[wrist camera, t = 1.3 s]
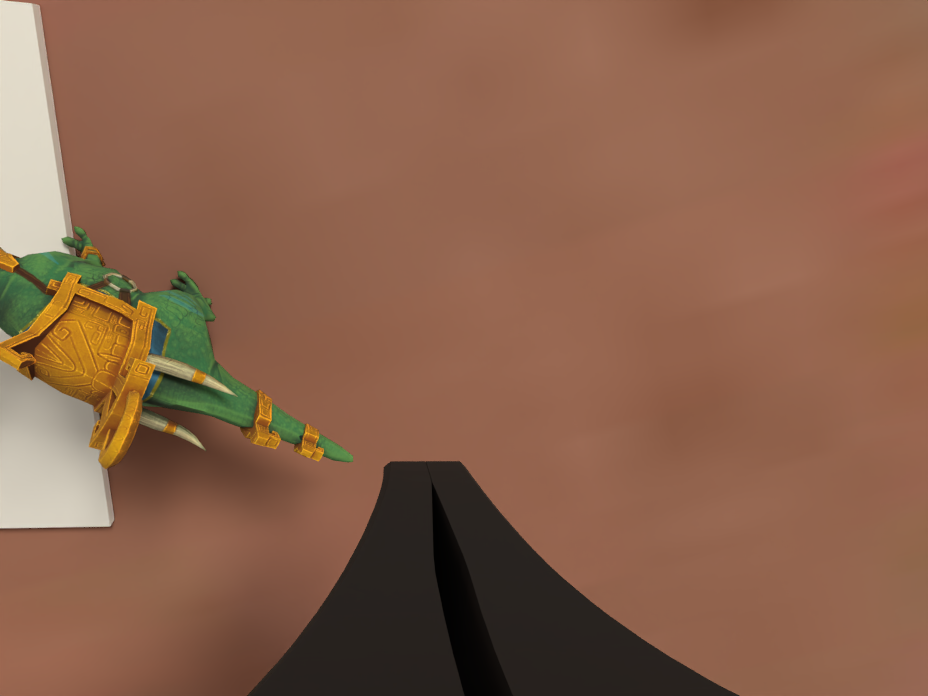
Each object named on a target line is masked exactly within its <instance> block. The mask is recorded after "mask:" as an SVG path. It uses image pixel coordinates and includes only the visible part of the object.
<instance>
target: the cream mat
mask: <svg viewBox="0 0 928 696" xmlns="http://www.w3.org/2000/svg"><path fill="white" fill-rule="evenodd" d="M67 236H68V237H71V238H73V231H72V224H71V217H70V211H69V204H68V197H67V190H66V183H65V176H64V169H63V163H62V156H61V149H60V142H59V135H58V128H57V121H56V114H55V108H54V101H53V94H52V87H51V80H50V73H49V66H48V60H47V53H46V46H45V39H44V32H43V25H42V18H41V12H40V5H36V4H31V3H22V2H12V1H2V0H0V247H1V248H2V249H3V250H4V251H5V252H6V253H10V254H12V255H15V256H17V257H20V258H22V257H24V256H26V255H28V254H36V253H44V252H51V251H57V252H62V253H67V254H71V255H74V256H76V252H75V248H73V247H69V246H68V245H66V244H64V243H63V241H62V239H61V238H64V237H67ZM10 338H12V337H11V336H9V335H8V334H6V333H5V332H4V331H3V330H2V329H1V328H0V343H1V342H3V341H5V340H8V339H10ZM98 420H100V416H99V413H98V412H95V411H94V406H93V405H90V404H88V403H86V402H84V401H81V400H79V399H76V398H74V397H71V396H68V395H66V394H63V393H61V392H60V391H58V390H56V389H55V388H53V387H51V386H50V385H48V384H46V383H45V382H43V381H41V380H40V379H38V378H36V377H34V379H33V380H32V381H31V380H30V379H28V378H27V377H25V376H24V375H22V374H21V373H19V372H18V371H17V369H16V368H14V367H12V366H10V365H9V364H7V363H5V362H3V361H2V360H0V528H50V527H110V526H111V524H112V523H113V521H114V512H113V505H112V499H111V492H110V485H109V478H108V471H107V469H104V468H103V467H102V466H101V464H100V463H99V461H98V459H99V454H100V452H101V450H98V449H94V448H91V447H89V443H90V439H91V435H92V431H93V427H94V425H95V424H96V423H97V421H98Z"/></svg>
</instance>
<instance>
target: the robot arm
mask: <svg viewBox="0 0 928 696" xmlns="http://www.w3.org/2000/svg"><path fill="white" fill-rule="evenodd" d="M247 696H739V695H737V694H735V693H733V692H731V691H729V690H727V689H725V688H723V687H721V686H719V685H717V684H716V683H714V682H712V681H710V680H708V679H707V678H705V677H703V676H702V675H700V674H698V673H696V672H695V671H693V670H691V669H690V668H688V667H686V666H685V665H683V664H681V663H679V662H678V661H676V660H674V659H673V658H671V657H669V656H668V655H666V654H665V653H663V652H662V651H660V650H658V649H657V648H655V647H654V646H652V645H651V644H649V643H647V642H646V641H644V640H643V639H641V638H640V637H639V636H637V635H636V634H634V633H633V632H632V631H630V630H629V629H627V628H626V627H624V626H623V625H622V624H620V623H619V622H617V621H616V620H614V619H613V618H612V617H610V616H609V615H608V614H606V613H605V612H604V611H602V610H601V609H600V608H598V607H597V606H596V605H594V604H593V603H592V602H591V601H590V600H588V599H587V598H586V597H585V596H584V595H582V594H581V593H580V592H579V591H578V590H576V589H575V588H574V587H573V586H572V585H570V584H569V583H568V582H567V581H566V580H564V579H563V578H562V577H561V576H560V575H559V574H558V573H557V572H556V571H555V570H553V569H552V568H551V567H550V566H549V565H548V564H547V563H546V562H545V561H544V560H543V559H542V558H541V557H540V556H539V555H538V554H537V553H536V552H535V551H534V550H533V549H532V548H531V547H530V545H529V544H528V543H527V542H526V541H525V540H524V539H523V538H522V537H521V536H520V535H519V533H518V532H517V531H516V530H515V529H514V528H513V527H512V525H511V524H510V523H509V522H508V521H507V520H506V519H505V517H504V516H503V515H502V514H501V513H500V512H499V510H498V509H497V508H496V507H495V505H494V504H493V503H492V502H491V500H490V499H489V498H488V497H487V495H486V494H485V493H484V492H483V490H482V489H481V488H480V486H479V485H478V484H477V482H476V481H475V480H474V478H473V477H472V476H471V474H470V473H469V472H468V470H467V469H466V467H465V466H464V465H463V464H462V463H461V462H460V461H426V462H425V461H419V462H390V463H388V464H387V465H386V466H385V467H384V475H383V482H382V487H381V490H380V493H379V496H378V499H377V502H376V505H375V508H374V510H373V513H372V515H371V517H370V520H369V522H368V524H367V527H366V529H365V531H364V533H363V536H362V538H361V540H360V542H359V543H358V545H357V547H356V549H355V551H354V553H353V555H352V557H351V558H350V560H349V562H348V564H347V566H346V568H345V570H344V571H343V573H342V575H341V576H340V578H339V580H338V581H337V583H336V584H335V586H334V588H333V589H332V591H331V592H330V594H329V595H328V597H327V598H326V600H325V601H324V603H323V604H322V606H321V607H320V609H319V610H318V611H317V613H316V614H315V616H314V617H313V618H312V620H311V621H310V622H309V624H308V625H307V626H306V628H305V629H304V630H303V632H302V633H301V634H300V636H299V637H298V638H297V639H296V641H295V642H294V643H293V645H292V646H291V647H290V648H289V649H288V651H287V652H286V653H285V654H284V656H283V657H282V658H281V659H280V660H279V661H278V663H277V664H276V665H275V666H274V667H273V668H272V669H271V670H270V671H269V672H268V674H267V675H266V676H265V677H264V678H263V679H262V680H261V681H260V682H259V683H258V684H257V686H256V687H255V688H254V689H253V690H252V691H251V692H250V693H249V694H248V695H247Z"/></svg>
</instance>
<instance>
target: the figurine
mask: <svg viewBox="0 0 928 696" xmlns="http://www.w3.org/2000/svg"><path fill="white" fill-rule="evenodd" d="M74 229H75V232H76V234H77V235H78V236H79V237H81V238H82V241H78V240H76V239H74V238H71V237H68V236H67V237H64V238H61V239H62V241H63V243H64V244H66V245H68V246H69V247H73V248H76V249H78V250H79V251H81V252H82V254H81V256H80V257H77V256H74V255H71V254H67V253H62V252H57V251H51V252H44V253H36V254H28V255H26V256H24V257H22V258H20V257H17V256H15V255H12V254H10V253H6V252H5V251H4V250H3V249H2V248H1V247H0V328H1V329H2V330H3V331H4V332H5V333H6V334H8V335H9V336H11V337H12V338H10V339H8V340H5V341H3V342H1V343H0V360H2V361H3V362H5V363H7V364H9V365H10V366H12V367H14V368H16V369H17V371H18V372H19V373H21V374H22V375H24V376H25V377H27V378H28V379H30V380H31V381H32V380H33V379H34V377H36V378H38V379H40V380H41V381H43V382H45V383H46V384H48V385H50V386H51V387H53V388H55V389H56V390H58V391H60V392H61V393H63V394H66V395H68V396H71V397H74V398H76V399H79V400H81V401H84V402H86V403H88V404H90V405H93V406H94V411H95V412H98V413H101V414H102V415H101V420H98V421H97V423H96V424H95V425H94V427H93V431H92V435H91V439H90V443H89V447H91V448H94V449H98V450H101V452H100V454H99V459H98V461H99V463H100V464H101V466H102V467H103V468H104V469H107V468H110V467H112V466H114V465H116V464H117V463H119V462H120V461H121V460H122V459H123V457H124V456H125V454H126V452H127V451H128V449H129V447H130V445H131V443H132V440H133V438H134V436H135V433H136V430H137V427H138V425H139V423H140V424H142V425H145V426H147V427H149V428H152V429H155V430H159V431H162V432H166V433H169V434H173V435H176V436H179V437H181V438H183V439H185V440H187V441H190V442H191V443H193V444H195V445H196V446H198V447H200V448H202V449H203V450H205V448H204V447H203V446H202V444H201V443H200V442H199V440H198V439H197V437H196V436H195V435H194V434H192V433H191V432H190V431H189V430H188V429H186V428H185V427H183V426H181V425H179V424H177V423H175V422H173V421H171V420H169V419H167V418H165V417H163V416H161V415H159V414H156V413H154V412H152V411H150V410H147V409H145V408H143V407H142V406H152V407H164V408H170V409H175V410H181V411H187V412H193V413H199V414H204V415H209V416H212V417H215V418H217V419H220V420H222V421H225V422H227V423H230V424H233V425H235V426H239V427H240V429H241V432H242V433H243V435H244V436H245V438H249V439H251V443H254V444H257V445H261V446H266V447H270V448H274V449H276V447H277V446H278V444H279V442H280V441H281V440H283V441H286V442H289V443H292V444H295V446H294V451H295V452H297V453H299V454H301V455H303V456H305V457H309V458H312V459H314V460H316V461H319V460H320V459H321V457H322V456H324V457H326V458H329V459H331V460H335V461H342V462H353V456H352V455H351V454H350V453H348V452H347V451H346V450H344V449H343V448H342V447H341V446H339V445H338V444H336V443H334V442H333V441H331V440H329V439H328V438H326V437H324V436H323V435H321V434H319V430H317V429H316V428H314V427H312V426H310V425H309V424H305V425H304V424H303V423H301V422H299V421H298V420H296V419H295V418H293V417H291V416H290V415H288V414H287V413H285V412H284V411H282V410H281V409H280V408H278V407H277V406H276V405H274V404H273V403H272V399H271V398H270V397H268V396H267V395H266V394H265V393H263V392H262V391H261V390H258V391H256V392H255V391H253V390H252V389H250V388H248V387H247V386H245V385H244V384H242V383H241V382H239V381H237V380H236V379H234V378H233V377H232V376H231V375H230V374H229V373H228V372H227V371H226V370H225V369H224V368H223V367H222V366H221V365H220V364H219V363H218V362H217V361H215V359H214V354H213V349H212V344H211V340H210V337H209V333H208V329H207V326H206V322H205V321H214V320H215V318H216V317H215V315H214V314H213V312H212V310H211V309H210V307H209V305H211V304H212V303H211V299H209V298H203V297H202V295H201V293H200V291H199V289H198V286H197V285H196V283H195V282H194V281H193V280H192V279H191V278H189V277H188V275H187V274H186V273H185V272H183V271H177V272H178V277H179V278H181V279H182V280H184V281H185V283H186V284H184V283H182V282H181V281H179V280H177V279H173V280H170V281H171V283H172V285H173V286H174V287H176V288H178V289H179V290H181V291H179V290H168V291H159V292H149V293H142V292H141V291H140V290H138V289H137V287H136V284H135V282H134V281H132V280H131V279H129V278H127V277H126V276H124V275H121V274H120V273H119V272H118V271H117V270H115V269H110V268H105V267H103V266H105V263H104V262H103V260H104V259H103V257H102V256H101V254H100V252H99V250H98V249H97V248H95V247H93V245H92V243H91V241H90V239H89V238H88V237H87V235H86V232H85V231H84V230H83V229H81V228H80V227H75V226H74ZM205 451H206V450H205Z"/></svg>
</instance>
